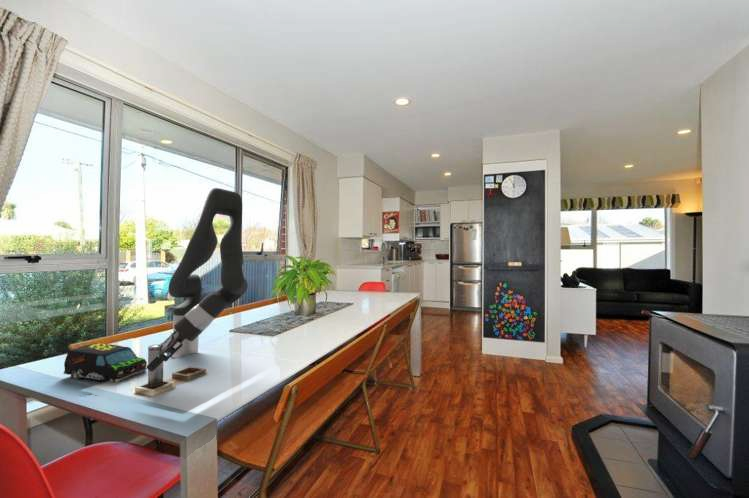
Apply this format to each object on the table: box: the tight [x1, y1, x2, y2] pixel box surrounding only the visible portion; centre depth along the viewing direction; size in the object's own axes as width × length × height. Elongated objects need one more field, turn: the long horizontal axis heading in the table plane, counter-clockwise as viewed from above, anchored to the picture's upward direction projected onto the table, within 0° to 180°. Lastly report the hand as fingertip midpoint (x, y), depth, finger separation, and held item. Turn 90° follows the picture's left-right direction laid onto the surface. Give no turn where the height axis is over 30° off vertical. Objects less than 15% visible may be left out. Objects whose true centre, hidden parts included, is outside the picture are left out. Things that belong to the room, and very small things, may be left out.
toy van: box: [63, 342, 148, 383], centre depth 112 cm, size 11×25×10 cm, turn 74°
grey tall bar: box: [147, 343, 164, 389], centre depth 99 cm, size 4×4×13 cm
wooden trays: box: [133, 366, 207, 398], centre depth 104 cm, size 7×20×3 cm, turn 161°
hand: (149, 365), depth 98 cm, fingers open, 7 cm apart
